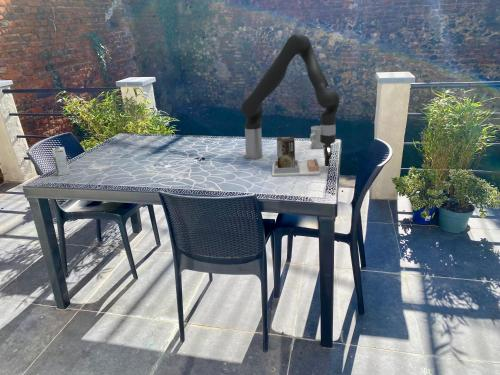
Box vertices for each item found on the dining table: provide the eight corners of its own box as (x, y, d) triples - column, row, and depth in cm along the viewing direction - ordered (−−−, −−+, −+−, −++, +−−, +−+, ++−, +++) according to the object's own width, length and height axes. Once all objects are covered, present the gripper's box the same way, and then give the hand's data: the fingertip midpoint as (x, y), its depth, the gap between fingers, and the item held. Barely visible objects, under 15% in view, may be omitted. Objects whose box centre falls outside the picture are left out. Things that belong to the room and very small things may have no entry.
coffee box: (295, 166, 208) (294, 136, 202) (295, 170, 202) (295, 140, 196) (277, 166, 209) (276, 137, 203) (277, 171, 203) (276, 140, 197)
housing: (272, 176, 199) (272, 170, 198) (272, 165, 214) (272, 159, 213) (320, 175, 198) (320, 168, 196) (316, 164, 212) (316, 158, 211)
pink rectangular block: (308, 171, 200) (308, 165, 199) (307, 164, 210) (307, 158, 208) (318, 170, 200) (319, 164, 199) (316, 164, 209) (316, 158, 208)
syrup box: (58, 172, 222) (52, 147, 216) (69, 171, 224) (63, 146, 218) (57, 176, 217) (51, 150, 211) (69, 174, 219) (63, 149, 213)
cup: (325, 150, 235) (325, 130, 231) (309, 149, 237) (309, 130, 232) (325, 144, 245) (326, 125, 240) (310, 144, 246) (311, 125, 242)
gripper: (318, 129, 204) (318, 161, 211) (321, 136, 192) (321, 170, 198) (333, 129, 203) (332, 161, 210) (337, 136, 191) (336, 170, 198)
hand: (326, 165), depth 204 cm, fingers closed
